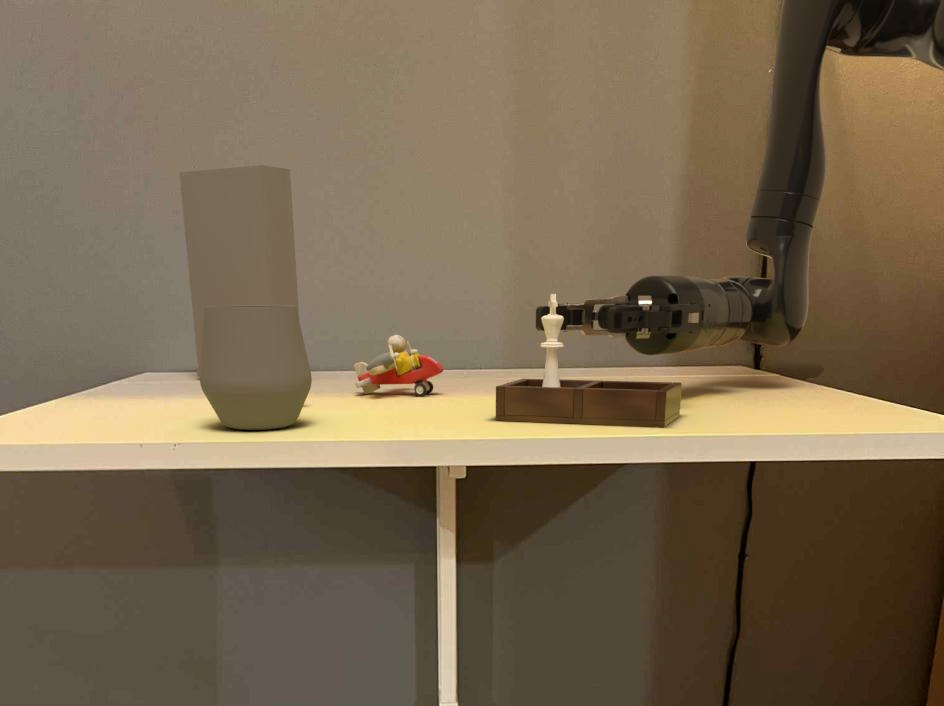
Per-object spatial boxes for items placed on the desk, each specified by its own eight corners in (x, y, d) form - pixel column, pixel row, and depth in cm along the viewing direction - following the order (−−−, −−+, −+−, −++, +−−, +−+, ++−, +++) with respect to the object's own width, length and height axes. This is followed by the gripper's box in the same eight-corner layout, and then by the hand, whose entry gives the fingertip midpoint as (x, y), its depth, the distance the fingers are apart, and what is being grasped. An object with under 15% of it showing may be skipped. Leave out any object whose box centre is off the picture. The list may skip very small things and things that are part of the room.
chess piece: (530, 412, 88) (532, 294, 85) (519, 406, 93) (520, 294, 89) (583, 411, 89) (587, 293, 85) (569, 404, 93) (573, 293, 90)
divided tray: (679, 415, 91) (681, 382, 90) (664, 427, 84) (666, 391, 82) (522, 410, 96) (522, 378, 95) (495, 420, 89) (495, 386, 88)
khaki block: (308, 379, 129) (295, 169, 120) (276, 383, 124) (261, 165, 116) (230, 375, 136) (213, 176, 127) (197, 379, 131) (177, 172, 122)
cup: (328, 420, 89) (322, 304, 86) (291, 435, 81) (282, 307, 77) (231, 418, 91) (222, 305, 88) (185, 432, 83) (172, 307, 79)
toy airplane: (448, 395, 109) (447, 334, 107) (374, 400, 105) (371, 337, 103) (410, 388, 116) (408, 331, 114) (339, 393, 112) (336, 334, 110)
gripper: (620, 276, 104) (516, 276, 93) (740, 274, 94) (639, 274, 84) (617, 350, 106) (515, 358, 96) (733, 355, 97) (635, 365, 86)
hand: (573, 319), depth 90 cm, fingers open, 8 cm apart
